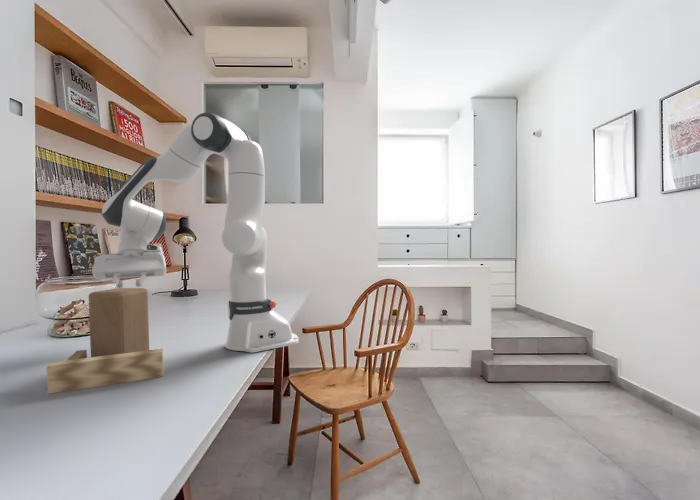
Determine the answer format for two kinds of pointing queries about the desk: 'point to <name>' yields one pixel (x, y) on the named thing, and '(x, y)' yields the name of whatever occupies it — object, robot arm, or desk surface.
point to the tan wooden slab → (103, 369)
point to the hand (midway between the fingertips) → (129, 286)
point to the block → (118, 321)
